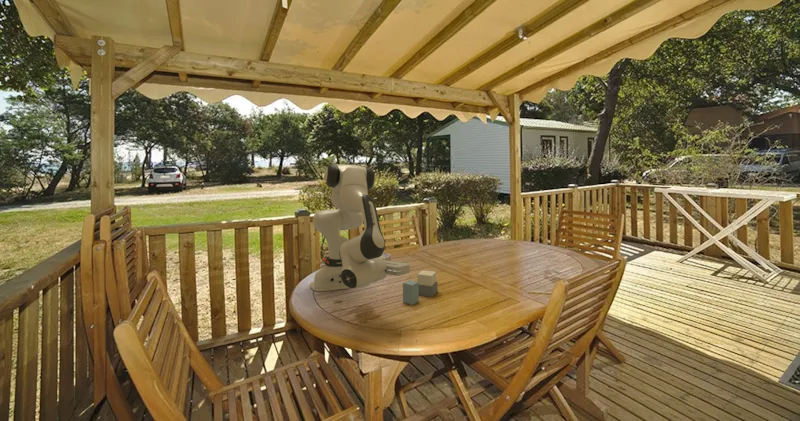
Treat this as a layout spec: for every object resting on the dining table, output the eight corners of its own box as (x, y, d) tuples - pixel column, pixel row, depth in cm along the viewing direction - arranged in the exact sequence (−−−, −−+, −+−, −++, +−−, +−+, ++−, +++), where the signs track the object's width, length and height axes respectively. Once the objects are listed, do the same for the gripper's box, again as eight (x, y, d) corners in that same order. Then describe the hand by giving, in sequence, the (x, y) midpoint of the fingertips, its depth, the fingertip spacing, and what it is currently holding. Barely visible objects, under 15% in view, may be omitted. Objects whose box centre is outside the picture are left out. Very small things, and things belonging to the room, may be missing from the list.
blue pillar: (412, 305, 159) (412, 285, 158) (403, 302, 162) (402, 283, 161) (418, 301, 163) (418, 282, 162) (409, 299, 166) (409, 280, 165)
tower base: (432, 297, 169) (432, 286, 168) (416, 295, 172) (416, 284, 171) (437, 291, 176) (437, 281, 176) (421, 289, 179) (421, 279, 179)
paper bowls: (361, 266, 220) (361, 253, 219) (385, 263, 226) (385, 250, 225) (370, 273, 206) (370, 259, 205) (395, 269, 213) (395, 256, 212)
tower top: (431, 286, 169) (431, 275, 168) (417, 284, 172) (417, 274, 171) (436, 281, 175) (436, 271, 175) (422, 280, 178) (422, 270, 177)
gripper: (398, 264, 134) (417, 258, 145) (355, 258, 145) (377, 252, 157) (398, 281, 134) (417, 273, 146) (356, 274, 146) (377, 267, 157)
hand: (396, 262), depth 151 cm, fingers open, 8 cm apart
